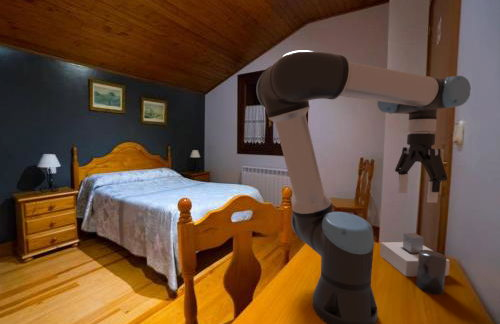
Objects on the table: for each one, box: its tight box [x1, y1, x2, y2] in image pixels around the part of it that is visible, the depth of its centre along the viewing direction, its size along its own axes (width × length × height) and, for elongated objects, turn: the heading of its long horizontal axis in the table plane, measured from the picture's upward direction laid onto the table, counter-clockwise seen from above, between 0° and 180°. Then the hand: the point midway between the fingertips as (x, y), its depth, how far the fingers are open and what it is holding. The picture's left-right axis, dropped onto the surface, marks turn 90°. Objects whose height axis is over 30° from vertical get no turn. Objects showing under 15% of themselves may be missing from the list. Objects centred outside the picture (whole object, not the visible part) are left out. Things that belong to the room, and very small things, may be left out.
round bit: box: [415, 249, 448, 296], centre depth 71 cm, size 6×6×10 cm
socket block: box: [379, 241, 451, 277], centre depth 84 cm, size 14×14×5 cm
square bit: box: [402, 232, 425, 255], centre depth 84 cm, size 4×4×10 cm
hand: (416, 197), depth 82 cm, fingers open, 13 cm apart
